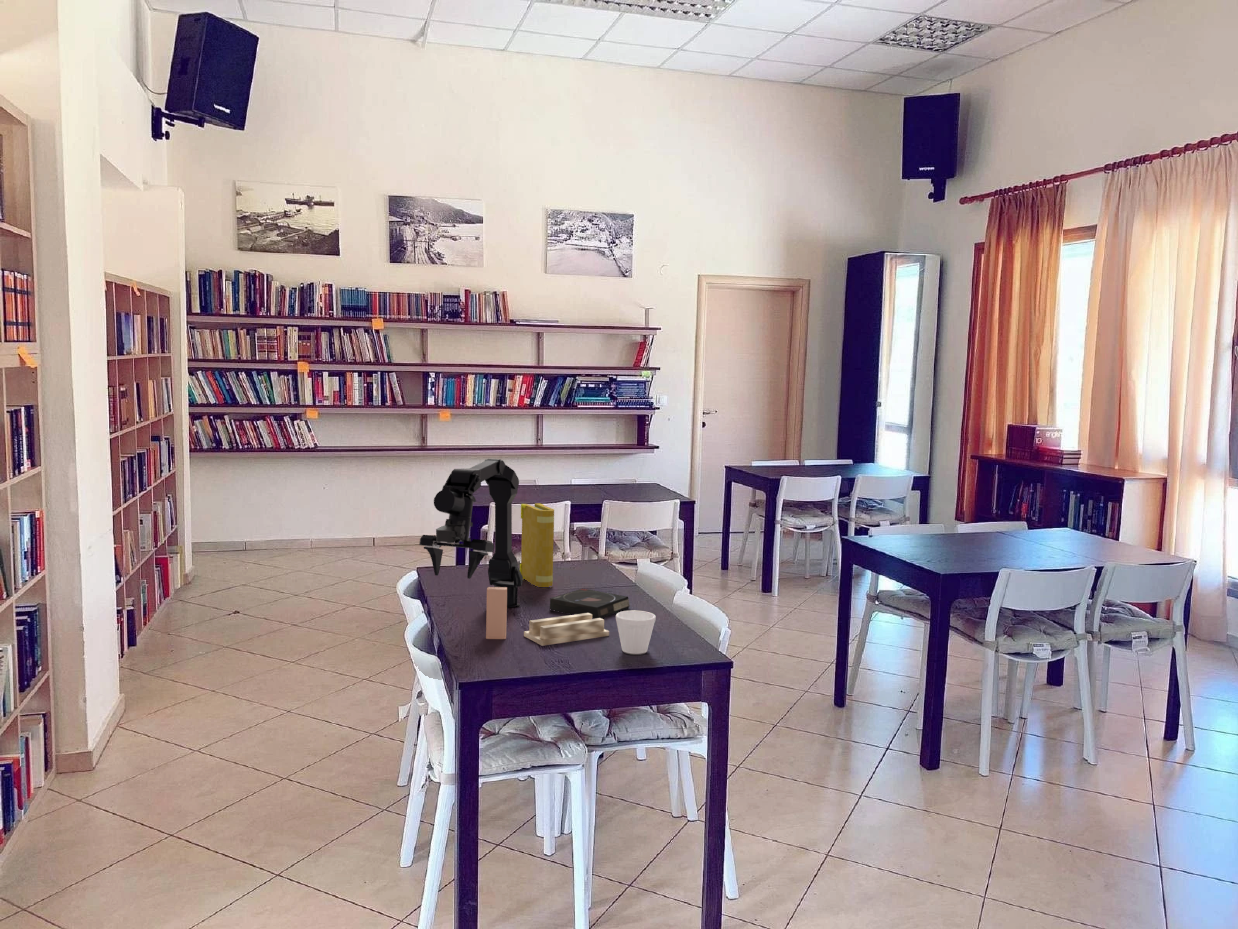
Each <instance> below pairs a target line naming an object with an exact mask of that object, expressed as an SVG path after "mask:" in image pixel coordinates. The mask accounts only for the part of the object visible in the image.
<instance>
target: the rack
mask: <svg viewBox="0 0 1238 929" xmlns="http://www.w3.org/2000/svg"><path fill="white" fill-rule="evenodd" d="M528 622H529V625H528V628H529V629H528V630H526V631H523V637H525V638H527V639H529V640H531V641H533V643H534V642H535V643H536V644H538V645H540V646H542V647H543V646H549V645H550V646H551V645H556V644H564V643H570V642H575V641H577V642H578V641H583V640H584V641H585V640H589V639H596V638H603V637H608V636H609V637H610V630H608V629H605V619H603V618H596V619H592V614H590V613H583V614H576V615H571V614H567V615H562V616H554V617H547V618H540V619H533V620H532V619H531V620H529V621H528Z"/></svg>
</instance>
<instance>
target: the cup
mask: <svg viewBox="0 0 1238 929" xmlns="http://www.w3.org/2000/svg"><path fill="white" fill-rule="evenodd" d="M615 614H616V615H615V622H616V628H617V631H618V636H619V641H620V645H621V646H620V647H621V651H622V652H623V653H624V654H626V655H630V656H641V655H645V654H646V653H647V652H648V648H649V646H650V645H649V644H650V641H651V637H652V633H653V629H654V625H655V623H656V620H657V619H656V618H657V617H656V615H655V614H654V613H652V612H648V611H645V610H634V609H633V610H623V611H620V612H617V613H615Z"/></svg>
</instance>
